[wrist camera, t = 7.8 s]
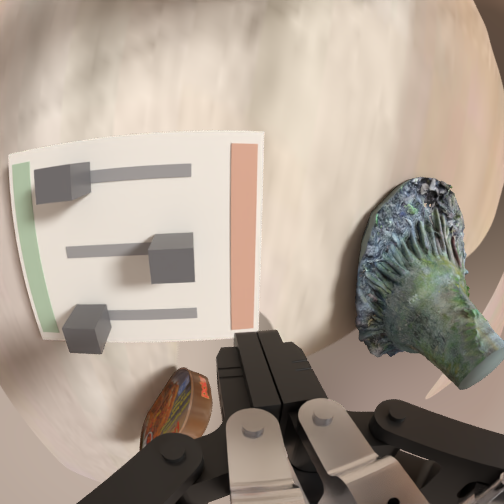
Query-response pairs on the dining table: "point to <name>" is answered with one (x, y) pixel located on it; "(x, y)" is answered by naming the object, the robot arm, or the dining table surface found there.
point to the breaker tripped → (172, 258)
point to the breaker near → (62, 182)
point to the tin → (180, 407)
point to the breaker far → (87, 328)
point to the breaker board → (146, 233)
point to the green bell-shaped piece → (422, 285)
